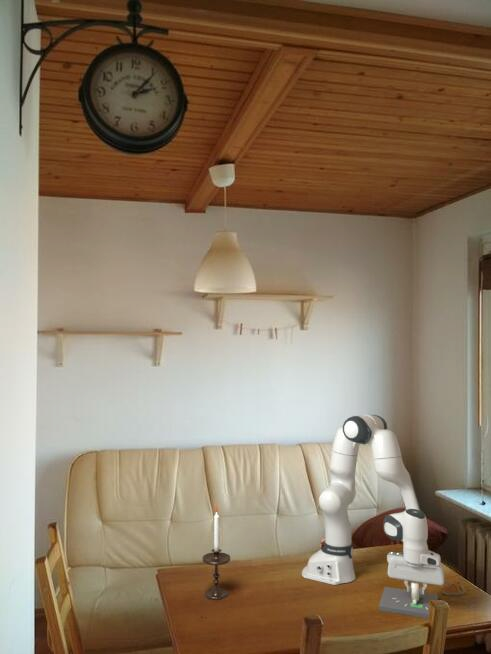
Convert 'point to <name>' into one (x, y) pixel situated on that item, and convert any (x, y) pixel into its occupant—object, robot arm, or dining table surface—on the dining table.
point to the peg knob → (415, 592)
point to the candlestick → (216, 564)
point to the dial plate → (405, 602)
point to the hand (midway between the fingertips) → (415, 592)
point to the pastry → (453, 589)
